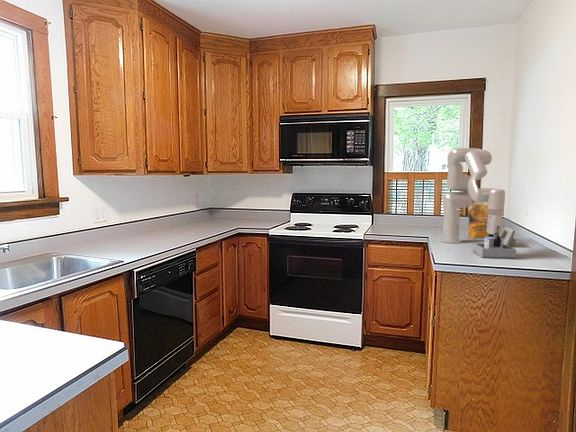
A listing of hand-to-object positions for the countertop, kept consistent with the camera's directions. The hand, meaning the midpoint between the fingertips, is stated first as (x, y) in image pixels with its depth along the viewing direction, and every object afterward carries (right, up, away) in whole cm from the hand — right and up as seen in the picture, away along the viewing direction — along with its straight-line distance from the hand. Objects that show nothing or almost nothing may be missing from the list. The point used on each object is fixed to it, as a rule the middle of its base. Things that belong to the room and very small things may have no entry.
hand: (493, 245), depth 206 cm
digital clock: (+24, -3, +31) cm, 39 cm away
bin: (0, -6, +1) cm, 6 cm away
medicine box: (0, -5, +1) cm, 5 cm away
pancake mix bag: (+21, +1, +60) cm, 63 cm away
